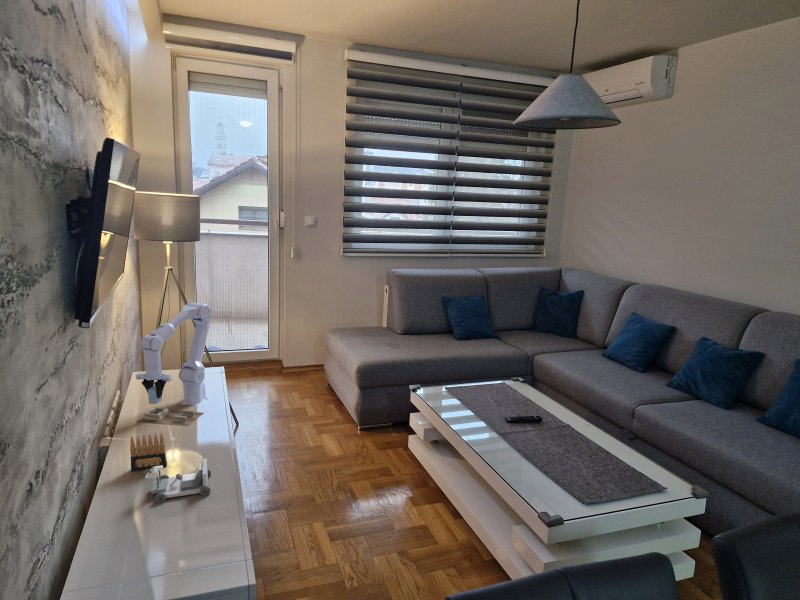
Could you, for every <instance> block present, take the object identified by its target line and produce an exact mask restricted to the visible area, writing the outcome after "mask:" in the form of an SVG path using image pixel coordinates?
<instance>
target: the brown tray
mask: <svg viewBox="0 0 800 600" xmlns="http://www.w3.org/2000/svg"><path fill="white" fill-rule="evenodd" d="M203 414H205V412H198V411H195V410H191V409H190V410H188V409H187V410H186V409H182V410H171V409H170V408H169V407H168V408H167V407H158V406H157V407H155V406H154V407H152V409H150V410H148V411H146V412H145V413H143V416H142V417H141V418H140V419H138V420H137V421H135V423H143V424H156V425H157V424H158V425H169V426H170V425H171V426H181V427H182V426H183V427H189V426H190V425H191V424H193V422H195V421H197V419H199V418H200V417H201V416H202V415H203Z"/></svg>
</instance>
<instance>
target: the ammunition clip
mask: <svg viewBox="0 0 800 600" xmlns="http://www.w3.org/2000/svg"><path fill="white" fill-rule="evenodd" d="M159 435H160V436H159V438H158V434H157V433H154V437H153V438H152V434H151V433H149V434H148V438H147V437H146V435H145V434H143V436H142V444H141V439H140V436H139V435H137V436H136V443H135V439H134V437H133V435H131V436H130V439H129V441H130V442H129V443H130V445H129V446H130V447H129V450H130V472H141V471H146V469H148V470H149V471H150V469H151V468H152V467H154V466H155V467H156V466H162V465H163V469H164V468H166V467H167V466H168V461H167V454H166V443H165V439H164V434H163V433H162V432H160V434H159ZM147 439H148V440H147ZM147 441H148V442H147ZM147 443H148V444H147Z"/></svg>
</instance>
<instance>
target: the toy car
mask: <svg viewBox="0 0 800 600" xmlns="http://www.w3.org/2000/svg"><path fill="white" fill-rule="evenodd" d="M163 470H164V468H163V465H162V466H156V467H155V466H154V467H152V468H151V469H149V470H148V469H146V470H145V471H146V472H147V473H146V474H145V477H144V479H153V481H152V486H151V490H150V493H151V495H153V494H156V495H155V496H154V500H155V501H154V502H155V503H164V502H165V501H166V499H169V498H175V497H182V496H188V495H197V494H200V496H209V495H210V494H211V491H212V490H211V488H210V487H209V486H208V482H209V481H208V480H209V479H208V478H210V477H211V475H212V471H211V470H210V469H209V468H208V458H206V457H205V458H203V463H199V464H198V466H197V469H196V471H195V472H192V473H186V474H183V475H181V474H180V473H177V474H176V475H175V477H170V476H169V475H168V474H163V475H161V471H163Z"/></svg>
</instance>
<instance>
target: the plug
mask: <svg viewBox="0 0 800 600" xmlns="http://www.w3.org/2000/svg"><path fill="white" fill-rule="evenodd" d="M147 396H148V397H147V398H148V405H157V404H159V403H161V401H163V399H162V397H163V396H162V397H160V398H157V391H156V387H155V385H154V386H153V387H151V388H150V389H148V393H147Z"/></svg>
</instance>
